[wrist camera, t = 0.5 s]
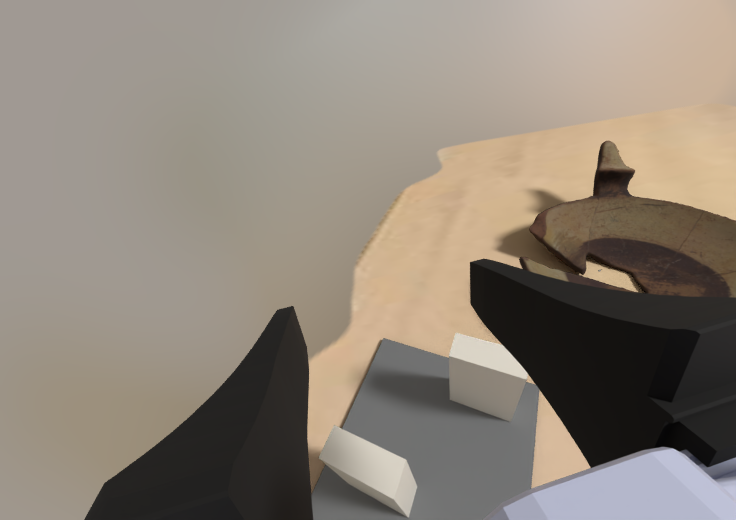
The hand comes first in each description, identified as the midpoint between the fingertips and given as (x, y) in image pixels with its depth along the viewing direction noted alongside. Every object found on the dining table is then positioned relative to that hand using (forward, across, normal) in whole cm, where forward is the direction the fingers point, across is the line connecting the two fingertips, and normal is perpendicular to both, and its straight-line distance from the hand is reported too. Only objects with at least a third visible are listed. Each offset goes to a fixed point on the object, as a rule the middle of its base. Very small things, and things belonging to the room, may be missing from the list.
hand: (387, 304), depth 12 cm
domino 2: (+7, -8, +17) cm, 20 cm away
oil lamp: (+14, -30, +14) cm, 36 cm away
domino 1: (+4, +2, +19) cm, 20 cm away
